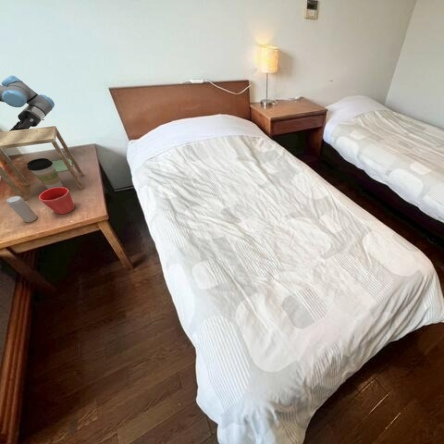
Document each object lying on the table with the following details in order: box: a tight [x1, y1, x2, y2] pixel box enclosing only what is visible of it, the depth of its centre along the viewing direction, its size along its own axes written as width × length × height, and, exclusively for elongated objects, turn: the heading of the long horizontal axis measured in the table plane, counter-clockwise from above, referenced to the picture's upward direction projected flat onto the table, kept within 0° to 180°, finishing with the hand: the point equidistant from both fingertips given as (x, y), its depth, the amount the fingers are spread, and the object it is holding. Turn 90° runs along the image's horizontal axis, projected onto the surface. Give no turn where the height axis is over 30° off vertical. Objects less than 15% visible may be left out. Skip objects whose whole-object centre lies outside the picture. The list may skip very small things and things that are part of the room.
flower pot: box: [38, 186, 75, 215], centre depth 119 cm, size 11×11×10 cm
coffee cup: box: [26, 157, 64, 190], centre depth 129 cm, size 10×10×15 cm
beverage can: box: [6, 195, 38, 223], centre depth 111 cm, size 5×5×12 cm
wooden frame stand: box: [0, 125, 85, 202], centre depth 124 cm, size 26×16×29 cm, turn 122°
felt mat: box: [51, 158, 73, 173], centre depth 147 cm, size 14×14×1 cm
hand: (4, 144), depth 120 cm, fingers open, 11 cm apart
